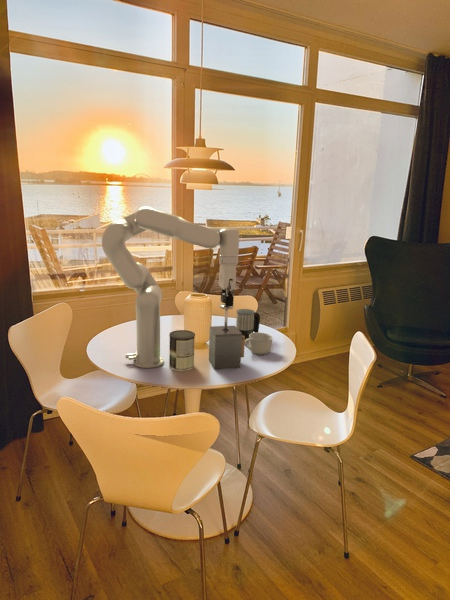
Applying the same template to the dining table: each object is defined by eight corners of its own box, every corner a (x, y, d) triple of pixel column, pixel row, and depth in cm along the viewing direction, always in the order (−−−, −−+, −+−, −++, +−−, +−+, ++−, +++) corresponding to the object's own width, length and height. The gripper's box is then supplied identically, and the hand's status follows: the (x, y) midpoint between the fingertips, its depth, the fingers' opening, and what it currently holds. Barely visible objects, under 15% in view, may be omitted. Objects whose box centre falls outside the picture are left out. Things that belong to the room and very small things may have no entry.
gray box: (214, 369, 175) (215, 334, 172) (208, 359, 186) (209, 326, 182) (246, 367, 179) (248, 333, 175) (239, 358, 189) (240, 325, 185)
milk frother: (247, 344, 207) (249, 314, 204) (219, 337, 215) (221, 309, 212) (261, 337, 219) (262, 308, 216) (234, 331, 227) (235, 303, 224)
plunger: (218, 340, 174) (219, 296, 170) (213, 333, 182) (215, 291, 177) (237, 339, 176) (239, 295, 172) (232, 333, 184) (234, 291, 179)
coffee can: (164, 368, 174) (164, 335, 171) (176, 360, 184) (176, 328, 180) (187, 373, 171) (188, 339, 168) (198, 364, 180) (199, 332, 177)
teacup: (265, 347, 204) (266, 331, 202) (275, 355, 194) (277, 338, 192) (237, 350, 199) (238, 333, 197) (247, 358, 189) (248, 341, 187)
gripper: (214, 256, 179) (213, 298, 183) (224, 263, 162) (222, 309, 167) (232, 257, 181) (230, 298, 185) (243, 263, 164) (241, 308, 168)
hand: (226, 303), depth 176 cm, fingers open, 6 cm apart
